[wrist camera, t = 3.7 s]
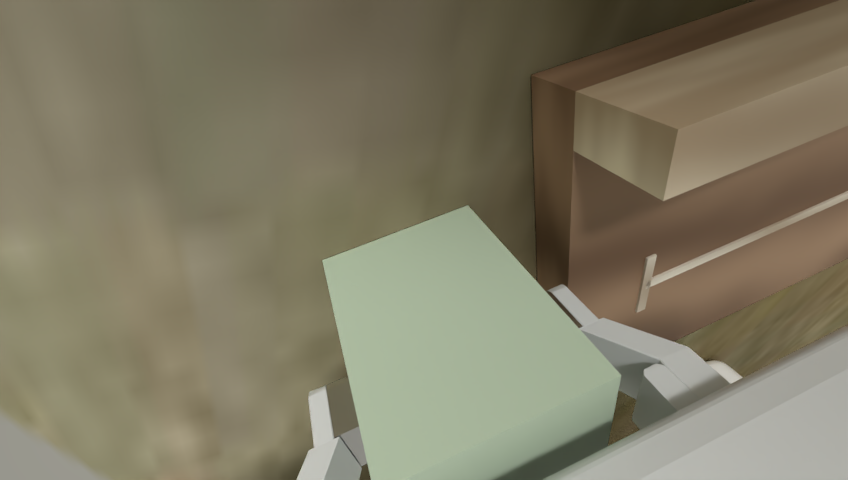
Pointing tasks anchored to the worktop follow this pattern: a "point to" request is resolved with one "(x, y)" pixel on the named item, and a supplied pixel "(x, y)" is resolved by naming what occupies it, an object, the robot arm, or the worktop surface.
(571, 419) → the block
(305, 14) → the worktop surface
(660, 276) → the walnut board
